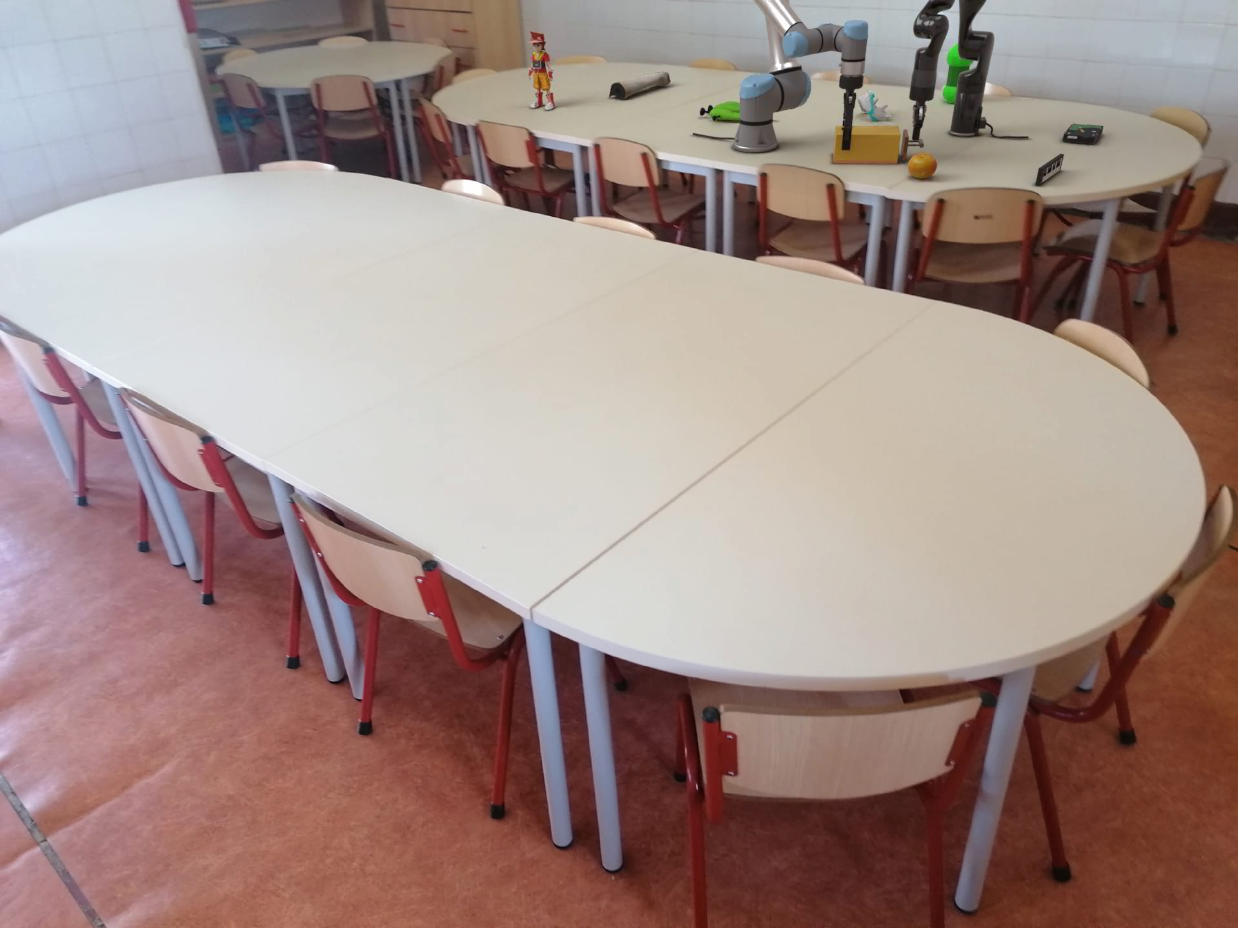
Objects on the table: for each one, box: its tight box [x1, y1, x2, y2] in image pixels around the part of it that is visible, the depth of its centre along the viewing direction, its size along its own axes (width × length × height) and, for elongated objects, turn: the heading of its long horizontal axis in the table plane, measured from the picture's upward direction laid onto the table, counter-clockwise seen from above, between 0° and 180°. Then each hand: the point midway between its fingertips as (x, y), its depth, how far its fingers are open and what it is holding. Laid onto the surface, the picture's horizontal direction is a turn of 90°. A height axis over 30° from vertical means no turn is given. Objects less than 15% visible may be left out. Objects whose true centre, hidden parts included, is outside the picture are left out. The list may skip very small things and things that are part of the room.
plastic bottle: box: [942, 42, 974, 104], centre depth 348 cm, size 10×10×25 cm
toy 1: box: [527, 31, 556, 111], centre depth 374 cm, size 12×9×30 cm
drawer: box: [900, 128, 925, 161], centre depth 297 cm, size 24×9×7 cm, turn 79°
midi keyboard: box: [1035, 153, 1065, 186], centre depth 273 cm, size 18×1×5 cm, turn 138°
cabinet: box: [832, 125, 902, 165], centre depth 298 cm, size 20×11×9 cm, turn 79°
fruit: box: [907, 152, 938, 179], centre depth 279 cm, size 8×8×8 cm
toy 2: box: [699, 100, 777, 122], centre depth 351 cm, size 28×5×30 cm
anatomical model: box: [857, 89, 892, 122], centre depth 341 cm, size 15×10×10 cm
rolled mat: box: [608, 71, 672, 101], centre depth 395 cm, size 30×9×10 cm
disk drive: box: [1061, 123, 1105, 145], centre depth 306 cm, size 10×3×15 cm
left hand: (845, 145), depth 299 cm, fingers closed on cabinet, 11 cm apart
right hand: (915, 139), depth 294 cm, fingers closed
